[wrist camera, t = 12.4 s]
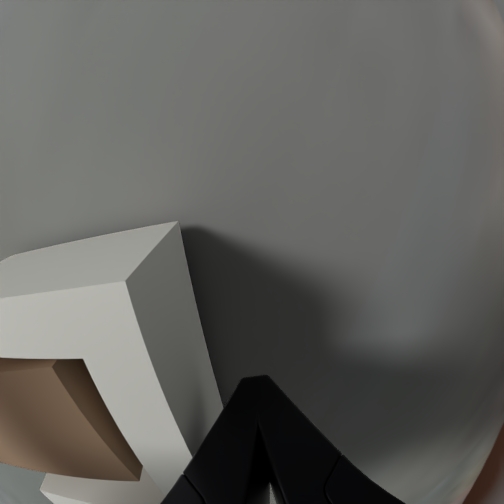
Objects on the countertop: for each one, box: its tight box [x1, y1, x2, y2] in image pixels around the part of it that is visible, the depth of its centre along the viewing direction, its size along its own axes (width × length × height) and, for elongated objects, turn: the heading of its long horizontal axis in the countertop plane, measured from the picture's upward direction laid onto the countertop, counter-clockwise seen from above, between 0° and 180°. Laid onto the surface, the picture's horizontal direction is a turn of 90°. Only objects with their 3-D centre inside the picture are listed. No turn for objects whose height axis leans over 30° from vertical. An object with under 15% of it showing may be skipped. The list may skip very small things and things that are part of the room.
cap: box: [0, 221, 223, 504], centre depth 7 cm, size 8×6×4 cm
